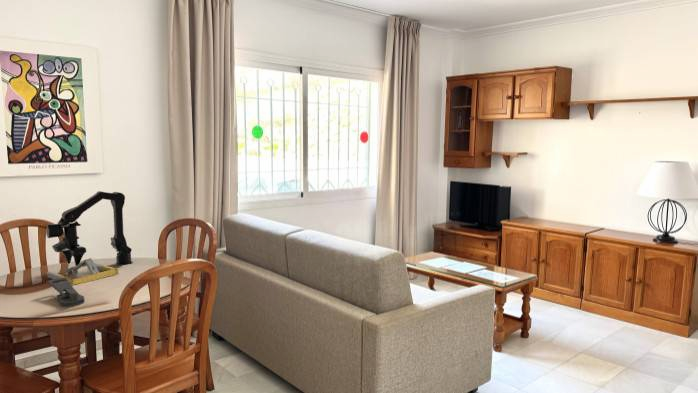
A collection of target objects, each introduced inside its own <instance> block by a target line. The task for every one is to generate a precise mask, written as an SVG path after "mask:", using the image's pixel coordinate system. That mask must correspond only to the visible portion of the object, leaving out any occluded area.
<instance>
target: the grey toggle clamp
mask: <svg viewBox="0 0 698 393" xmlns="http://www.w3.org/2000/svg"><path fill="white" fill-rule="evenodd" d="M62 281H65V282H62ZM46 283H47V284H48V285H49V286H51V288H53V289H54V290H55V291H56V292H58V293H59V294H57V295H56V301H57V303H58V304H59V306H60V307H61V308H70V307H75V306H80V305H82V304H84V303H85V295H83V294H82V295H81V294H79V292H78V291H77V290H76V289H75V288H74V287H73V285H71V284H70V282H69V281H68V279H67V278H58V279H50V280H47V281H46Z"/></svg>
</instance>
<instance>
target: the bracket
mask: <svg viewBox="0 0 698 393" xmlns="http://www.w3.org/2000/svg"><path fill="white" fill-rule="evenodd" d="M94 263H95V261H94V260H93V259H92V257H89V258H87V259H84V260H82V261H80V263H79V264H78V265H75V266H72V267H69V268H67V269H66V270H64V271H63V272H61V273H59V274H60V275H64V274H65V273H66V274H67V275H68V274H69V275H72V274H75V275H76V274H78V273H79V269H81V268H84V267H87V269H88V271H89V272H90V275H92V274H96V273H100V270H98V269H97V268H96V266H95V264H94ZM91 265H92V266H93V268H92V266H91Z"/></svg>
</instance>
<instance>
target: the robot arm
mask: <svg viewBox="0 0 698 393" xmlns="http://www.w3.org/2000/svg"><path fill="white" fill-rule="evenodd" d="M102 200H108V201H110V204H111V207H112V209H113V227H114V228H113V230H114V235H113V236H112V237H110V246H111V247H112V249H114V250H115V252H116V255H115V258H116V262H115V264H117V265H120V266H123V265H130V264H133V261H132V254H131V253H132V248H130V246H129V245H128V244H127V240H126V236H125V235H124V216H123V211H124V210H123V208H124V206H125V200H126V195H125V194H124V193H123V192H118V191H114V192H105V191H100V190H99V191H97V192H96V193H94V194H93V195H92V196H90V197H88V199H85V200H83V202H81V203H80V204H78V205H76V206H74V207H72V208H69V209H67V210H65V211H63V212H62V213H61V218H60V219H59V221H58V222H57V223H51V224H50V223H49V224H47V225H46V231H45V232H46V233H45V234H46V238H47V239H52V238H58V237H59V238H61V237H62V236H63V235H64V236H63V237H62V240H61V241H59V242H57V243H55V244H53V245H52V246H51V247H52V249H53V250H54V252H56V253H62V254H63V255H64V258H65V261H66V262H67V264H71V262H72V258H73V261H74V264H75V266H76V265H78V264H79V263H81V262H82V261H81V260H82V258H83V256H84V255H85V254H86V253H87V248H86V247H85V246H82V245H80V243H78V240H79V239H80V237H79V236H78V231H77V228H78V227H80V226H82V225H81V223H79V222H78V221H77V220H78V219H80V217H81V215H82V214H83V213H84V212H86V211H87V210H89V209H90V208H92V207H93V206H95V205H96V204H98V203H99V202H100V201H102Z"/></svg>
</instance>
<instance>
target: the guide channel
mask: <svg viewBox="0 0 698 393" xmlns="http://www.w3.org/2000/svg"><path fill="white" fill-rule="evenodd" d="M94 264H95V266H96V268H97V269H98V271H101V270H102V272H99V273H96V272H95V274H92V275H91V274H88V275H84V276H80V277H76V278H71V277H68V276H65V275H64V274H62V275H60V274H61V273H56V272H53V271H47V272H46V275H47V276H46V277H47V278H49V279H51V280H53V279H58V278H67V279H68V281H69V282H70V284H71V285H72V286H75V285H78V284H84V283H87V281H88V282H91V280H92V281H96V280H99V279H104V278H107V277H112V276H116V275H119V269H118V268H115V267H112V266H107V265H104V264H100V263H97V262H94ZM91 266H92V265H91ZM92 268H93V266H92ZM93 269H94V268H93ZM95 279H96V280H95ZM62 282H65V281H62Z"/></svg>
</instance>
